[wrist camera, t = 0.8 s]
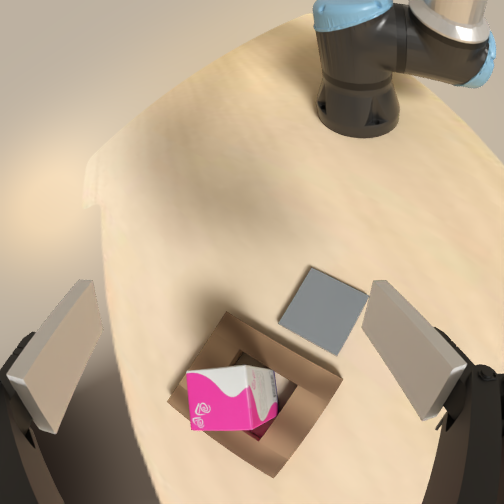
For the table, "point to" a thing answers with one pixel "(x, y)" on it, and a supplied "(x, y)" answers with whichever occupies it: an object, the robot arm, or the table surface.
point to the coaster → (324, 311)
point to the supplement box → (231, 398)
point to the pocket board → (293, 413)
